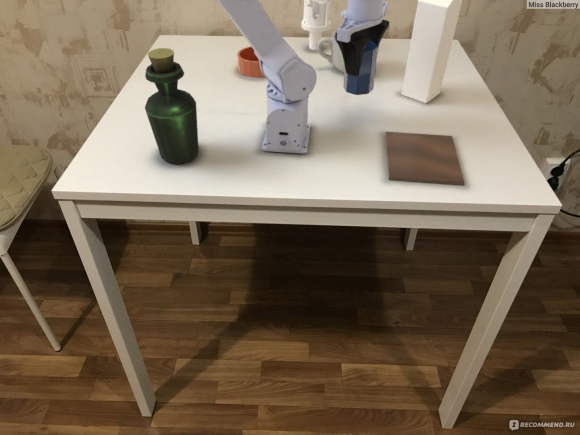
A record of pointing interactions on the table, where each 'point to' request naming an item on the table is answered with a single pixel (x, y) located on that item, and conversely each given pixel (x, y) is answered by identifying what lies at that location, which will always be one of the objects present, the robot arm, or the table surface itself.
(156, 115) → the potion bottle
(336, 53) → the teacup
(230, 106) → the table surface
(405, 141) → the walnut board
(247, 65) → the orange ramekin
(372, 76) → the blue cup
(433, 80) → the milk
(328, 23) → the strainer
